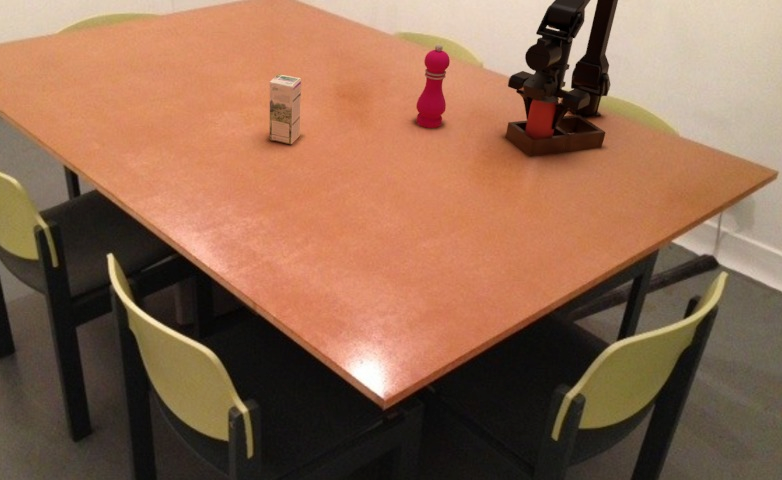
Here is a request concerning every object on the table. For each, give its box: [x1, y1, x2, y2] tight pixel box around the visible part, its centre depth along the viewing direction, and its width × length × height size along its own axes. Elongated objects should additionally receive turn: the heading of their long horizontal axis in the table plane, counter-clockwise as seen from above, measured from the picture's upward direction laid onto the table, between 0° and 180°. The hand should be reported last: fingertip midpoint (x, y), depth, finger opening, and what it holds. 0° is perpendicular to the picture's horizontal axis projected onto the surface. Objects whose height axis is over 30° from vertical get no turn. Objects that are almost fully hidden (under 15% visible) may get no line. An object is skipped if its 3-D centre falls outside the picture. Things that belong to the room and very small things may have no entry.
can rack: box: [505, 114, 607, 157], centre depth 187 cm, size 21×11×4 cm, turn 111°
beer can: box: [525, 96, 560, 138], centre depth 183 cm, size 7×7×12 cm
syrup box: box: [269, 73, 302, 145], centre depth 177 cm, size 6×6×14 cm
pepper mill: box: [416, 43, 451, 129], centre depth 188 cm, size 7×7×20 cm
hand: (540, 124), depth 184 cm, fingers closed on beer can, 6 cm apart
